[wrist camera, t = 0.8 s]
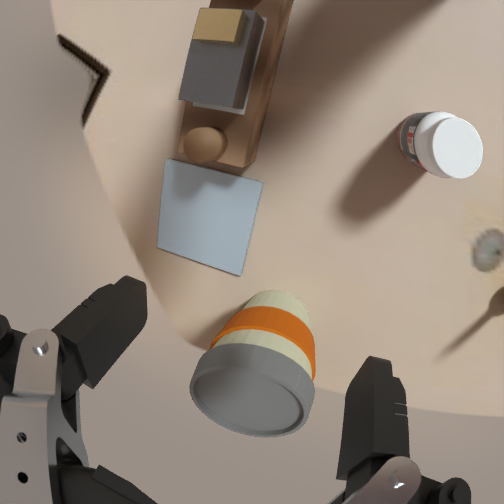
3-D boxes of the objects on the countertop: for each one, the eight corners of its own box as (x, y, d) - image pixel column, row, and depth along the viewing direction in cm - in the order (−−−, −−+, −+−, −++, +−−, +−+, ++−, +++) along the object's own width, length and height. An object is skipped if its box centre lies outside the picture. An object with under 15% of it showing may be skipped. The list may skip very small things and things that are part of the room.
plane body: (232, -9, 23) (204, -39, 15) (294, -4, 22) (281, -37, 15) (196, 148, 32) (158, 157, 25) (254, 161, 31) (230, 174, 24)
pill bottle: (397, 165, 27) (425, 184, 18) (394, 112, 25) (421, 107, 16) (445, 166, 25) (487, 187, 17) (443, 114, 23) (486, 114, 14)
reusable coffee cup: (225, 335, 43) (184, 413, 29) (241, 264, 37) (190, 344, 24) (306, 361, 41) (288, 448, 28) (337, 295, 35) (332, 390, 22)
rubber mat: (168, 158, 33) (165, 159, 33) (263, 182, 32) (262, 183, 31) (159, 245, 39) (157, 247, 38) (241, 273, 37) (240, 276, 37)
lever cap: (214, 17, 21) (194, 3, 17) (264, 22, 20) (252, 5, 16) (194, 101, 25) (171, 99, 21) (243, 109, 24) (227, 107, 20)
